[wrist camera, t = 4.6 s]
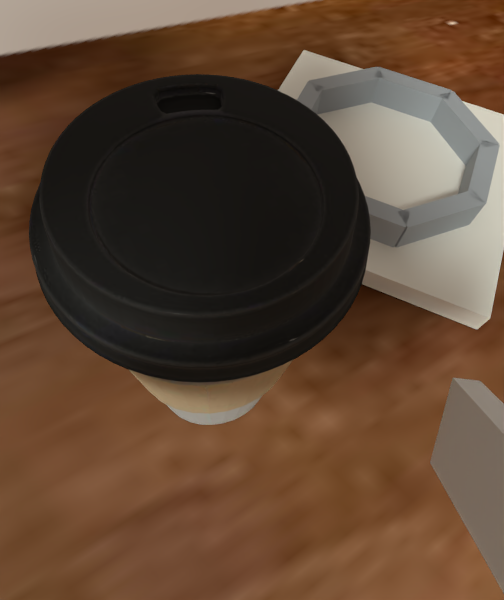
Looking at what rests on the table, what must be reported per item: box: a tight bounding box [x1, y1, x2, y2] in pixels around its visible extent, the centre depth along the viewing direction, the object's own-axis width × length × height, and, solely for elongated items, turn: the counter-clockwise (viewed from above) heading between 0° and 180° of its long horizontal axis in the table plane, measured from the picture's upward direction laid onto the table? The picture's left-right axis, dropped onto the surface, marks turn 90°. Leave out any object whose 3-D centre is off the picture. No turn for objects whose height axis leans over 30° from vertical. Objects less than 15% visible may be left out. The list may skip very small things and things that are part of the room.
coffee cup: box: [29, 74, 371, 425], centre depth 18 cm, size 9×9×15 cm
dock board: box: [278, 50, 504, 329], centre depth 30 cm, size 18×18×4 cm
